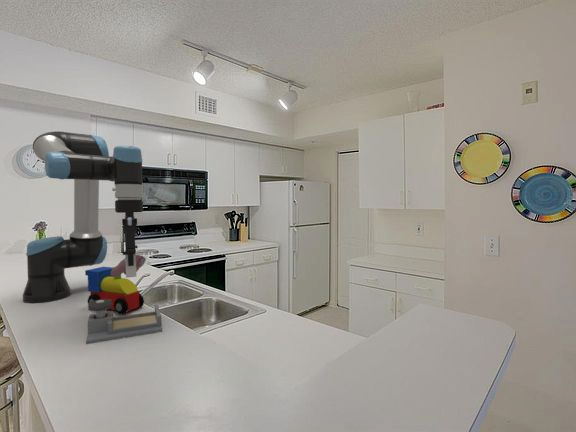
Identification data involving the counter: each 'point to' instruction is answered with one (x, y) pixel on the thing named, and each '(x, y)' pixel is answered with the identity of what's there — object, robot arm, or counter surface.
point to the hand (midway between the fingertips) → (131, 273)
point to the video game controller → (122, 266)
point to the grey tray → (122, 325)
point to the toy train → (113, 290)
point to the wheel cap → (100, 306)
